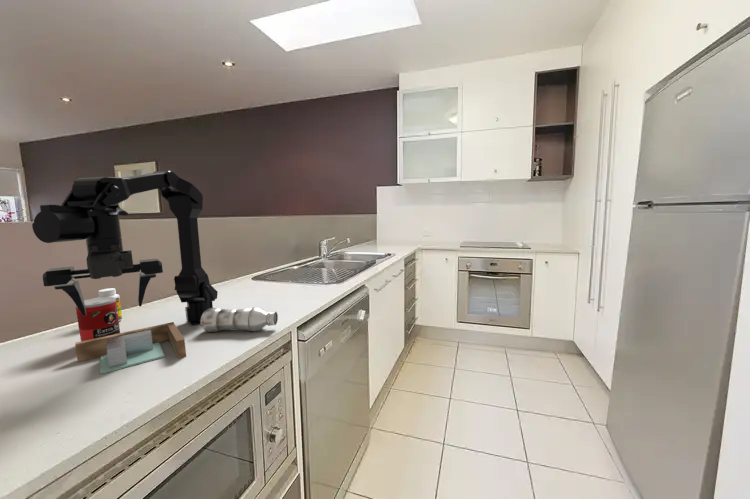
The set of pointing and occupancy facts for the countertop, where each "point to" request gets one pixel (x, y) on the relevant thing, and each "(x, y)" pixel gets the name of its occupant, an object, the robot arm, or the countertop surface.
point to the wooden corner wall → (158, 332)
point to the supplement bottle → (112, 293)
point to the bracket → (127, 347)
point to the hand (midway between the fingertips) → (113, 310)
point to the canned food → (98, 318)
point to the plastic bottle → (237, 319)
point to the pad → (134, 359)
